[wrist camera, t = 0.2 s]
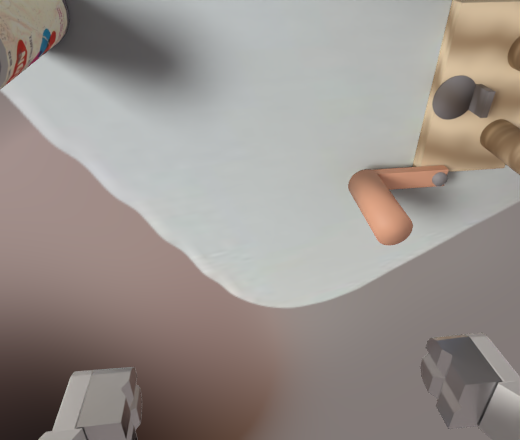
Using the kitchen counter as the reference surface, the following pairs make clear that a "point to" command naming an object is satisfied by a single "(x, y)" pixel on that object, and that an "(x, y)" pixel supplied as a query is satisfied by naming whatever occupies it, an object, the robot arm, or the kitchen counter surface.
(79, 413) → the robot arm
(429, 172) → the hinged leg
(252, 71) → the kitchen counter surface
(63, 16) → the aerosol can
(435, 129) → the wooden peg stand
